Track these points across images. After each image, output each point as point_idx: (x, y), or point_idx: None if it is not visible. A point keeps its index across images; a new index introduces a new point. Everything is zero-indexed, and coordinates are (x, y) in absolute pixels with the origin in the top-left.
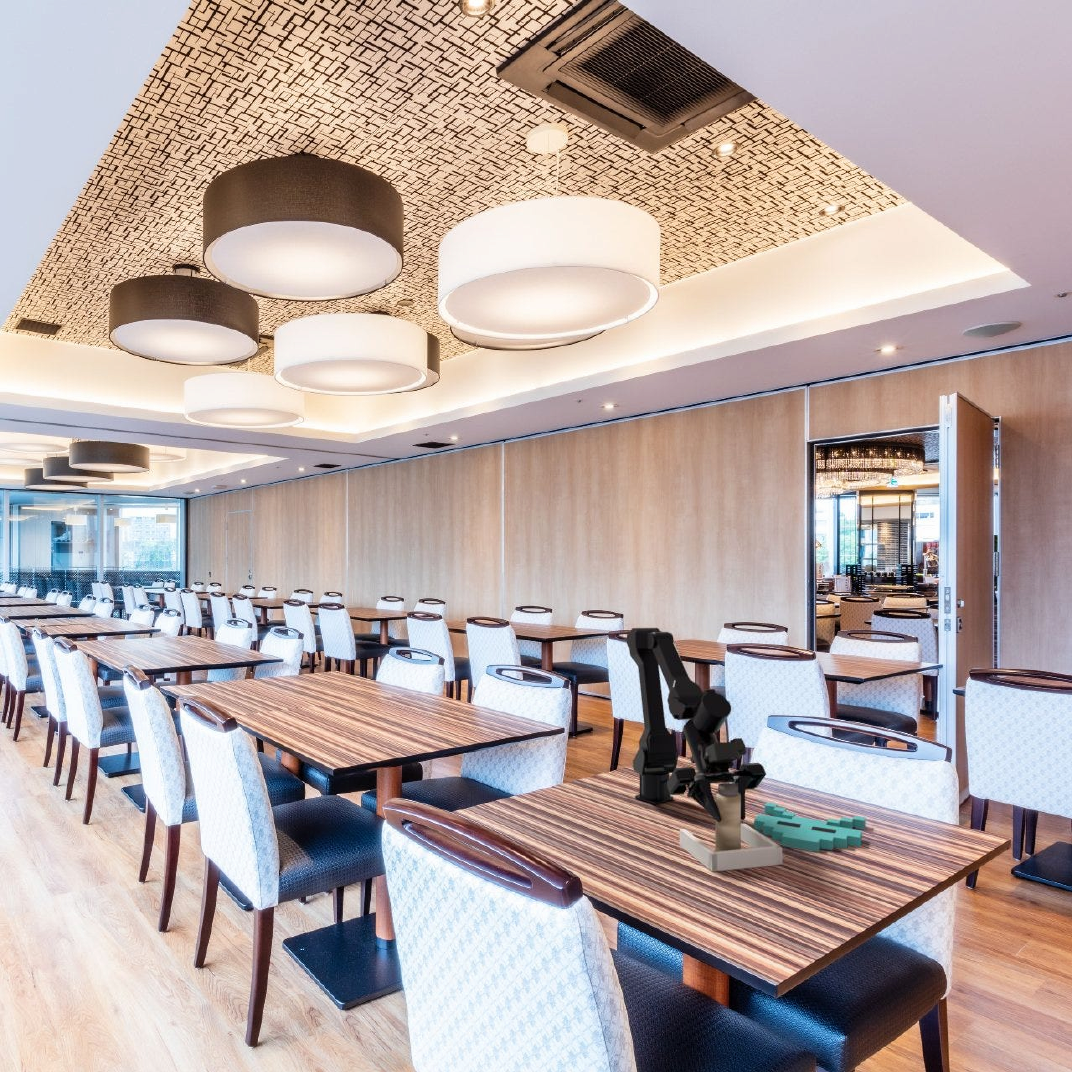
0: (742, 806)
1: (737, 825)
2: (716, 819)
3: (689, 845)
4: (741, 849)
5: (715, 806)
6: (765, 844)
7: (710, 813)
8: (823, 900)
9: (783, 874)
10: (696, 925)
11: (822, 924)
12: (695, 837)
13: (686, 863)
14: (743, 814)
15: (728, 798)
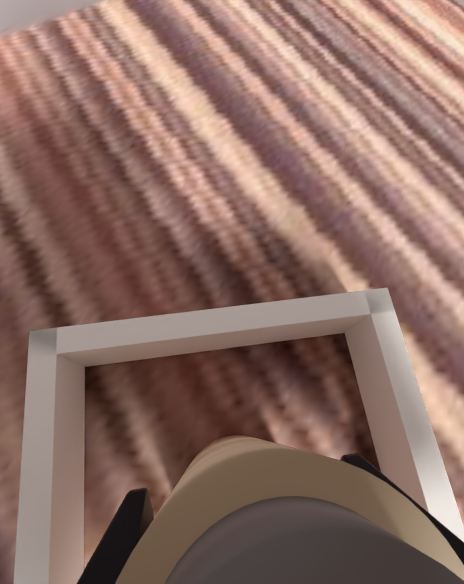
0: (109, 577)
1: (213, 449)
2: None
3: None
4: (238, 326)
5: None
6: (62, 440)
7: None
8: (100, 106)
9: (112, 265)
10: (453, 52)
11: (177, 24)
12: None
13: (442, 397)
14: (138, 504)
15: (342, 465)
